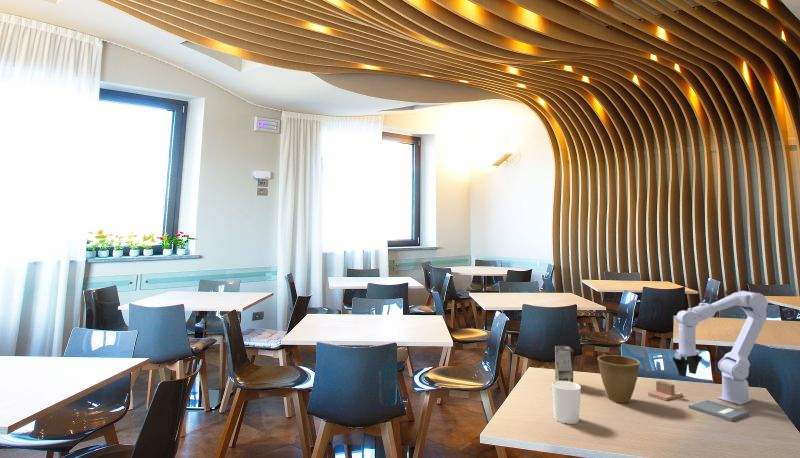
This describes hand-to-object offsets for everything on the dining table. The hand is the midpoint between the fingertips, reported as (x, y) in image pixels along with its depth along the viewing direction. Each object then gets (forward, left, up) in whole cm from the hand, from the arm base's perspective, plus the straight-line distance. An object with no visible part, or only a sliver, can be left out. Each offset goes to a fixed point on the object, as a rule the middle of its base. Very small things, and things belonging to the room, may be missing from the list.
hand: (687, 374), depth 176 cm
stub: (+5, -6, -9) cm, 12 cm away
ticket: (+5, +13, -9) cm, 17 cm away
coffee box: (+31, -35, -10) cm, 48 cm away
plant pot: (+27, -12, -10) cm, 31 cm away
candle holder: (+61, -9, -10) cm, 62 cm away
